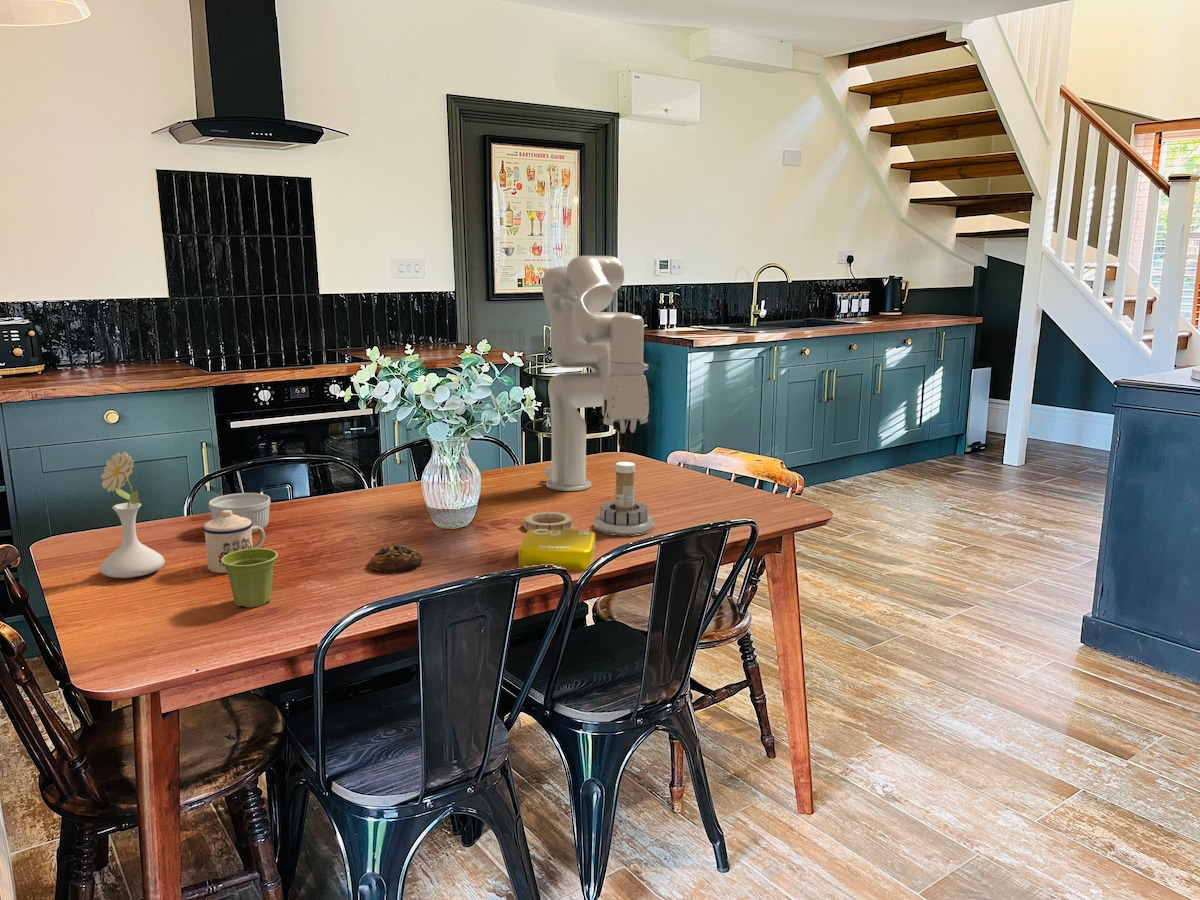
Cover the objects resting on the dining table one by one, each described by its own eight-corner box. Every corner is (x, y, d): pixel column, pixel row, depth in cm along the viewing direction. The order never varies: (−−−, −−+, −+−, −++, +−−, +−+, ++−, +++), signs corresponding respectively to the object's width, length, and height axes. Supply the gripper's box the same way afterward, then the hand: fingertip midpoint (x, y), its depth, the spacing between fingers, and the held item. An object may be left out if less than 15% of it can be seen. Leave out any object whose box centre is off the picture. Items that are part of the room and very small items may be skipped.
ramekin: (282, 528, 204) (280, 499, 203) (226, 541, 195) (224, 510, 194) (255, 517, 213) (253, 489, 212) (201, 528, 204) (198, 499, 202)
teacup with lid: (219, 577, 172) (214, 519, 170) (198, 566, 178) (193, 511, 176) (276, 562, 181) (273, 507, 179) (255, 553, 187) (251, 499, 184)
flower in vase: (96, 571, 175) (82, 447, 170) (158, 560, 182) (147, 441, 177) (107, 590, 165) (93, 459, 160) (173, 577, 172) (161, 452, 166)
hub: (582, 528, 207) (582, 507, 206) (618, 515, 217) (618, 496, 216) (630, 540, 198) (630, 518, 197) (665, 526, 209) (666, 506, 208)
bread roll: (398, 577, 173) (395, 552, 172) (357, 575, 179) (354, 550, 178) (435, 563, 183) (433, 539, 182) (395, 561, 188) (392, 538, 188)
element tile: (517, 570, 179) (516, 547, 178) (527, 547, 194) (527, 526, 193) (590, 572, 178) (590, 549, 177) (596, 549, 193) (596, 528, 192)
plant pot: (287, 604, 159) (284, 558, 157) (231, 615, 153) (228, 568, 152) (272, 589, 166) (269, 545, 164) (219, 599, 161) (215, 553, 159)
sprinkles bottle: (611, 517, 209) (612, 461, 206) (629, 515, 210) (630, 460, 208) (618, 522, 205) (619, 465, 202) (637, 520, 206) (638, 464, 204)
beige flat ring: (514, 527, 207) (514, 519, 207) (546, 517, 216) (546, 509, 215) (550, 536, 200) (550, 528, 200) (582, 525, 209) (582, 517, 208)
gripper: (649, 367, 206) (648, 444, 210) (589, 369, 201) (589, 448, 205) (663, 370, 200) (661, 450, 203) (602, 372, 194) (601, 454, 198)
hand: (625, 448), depth 204 cm, fingers closed
